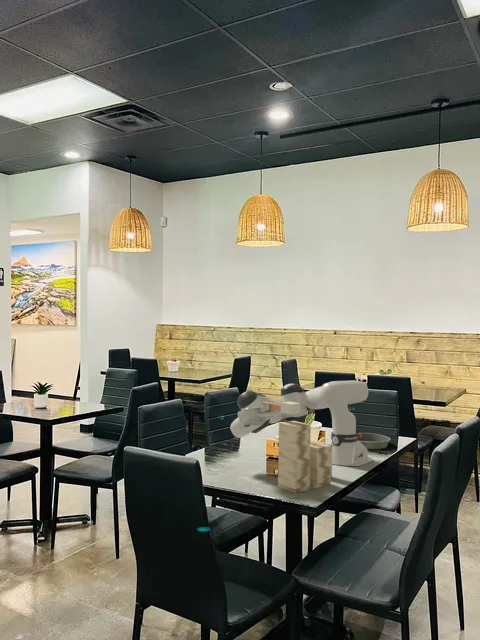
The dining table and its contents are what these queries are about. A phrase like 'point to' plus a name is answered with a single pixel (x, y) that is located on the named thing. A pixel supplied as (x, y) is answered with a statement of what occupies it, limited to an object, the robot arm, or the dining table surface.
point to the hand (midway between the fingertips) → (272, 405)
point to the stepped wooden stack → (302, 459)
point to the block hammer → (284, 407)
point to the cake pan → (374, 440)
